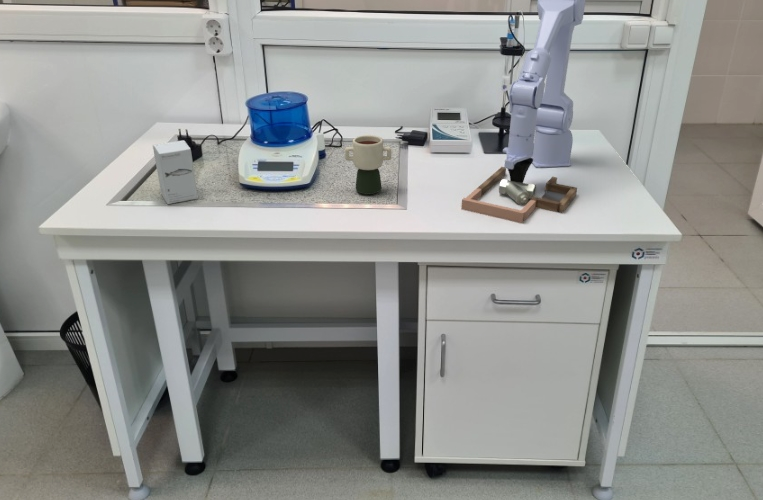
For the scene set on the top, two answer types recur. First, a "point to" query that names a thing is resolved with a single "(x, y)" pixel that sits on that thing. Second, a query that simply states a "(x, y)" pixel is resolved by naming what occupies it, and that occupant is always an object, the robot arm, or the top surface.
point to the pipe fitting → (517, 190)
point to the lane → (551, 200)
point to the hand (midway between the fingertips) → (516, 187)
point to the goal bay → (496, 208)
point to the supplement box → (175, 171)
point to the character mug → (368, 162)
